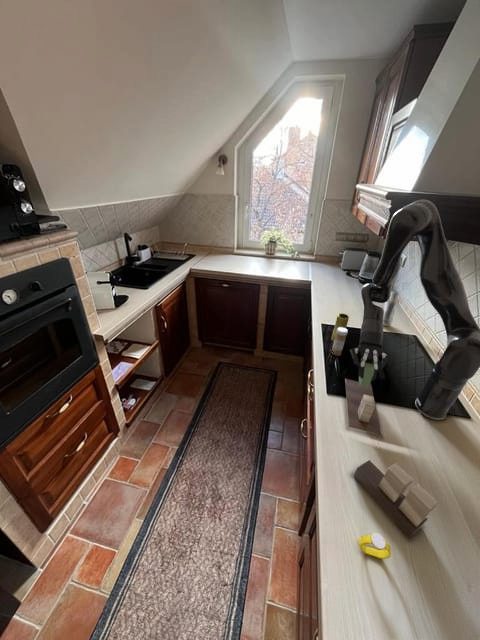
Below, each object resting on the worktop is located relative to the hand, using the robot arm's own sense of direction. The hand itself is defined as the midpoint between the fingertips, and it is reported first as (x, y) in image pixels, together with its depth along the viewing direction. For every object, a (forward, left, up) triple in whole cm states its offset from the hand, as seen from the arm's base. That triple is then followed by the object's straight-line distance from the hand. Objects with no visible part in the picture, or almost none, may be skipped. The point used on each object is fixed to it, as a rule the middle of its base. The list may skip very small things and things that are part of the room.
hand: (367, 378), depth 91 cm
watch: (+36, +32, -10) cm, 49 cm away
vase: (-22, -33, -10) cm, 41 cm away
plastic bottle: (-59, -32, -10) cm, 68 cm away
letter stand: (+23, +27, -10) cm, 37 cm away
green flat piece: (-1, -1, -4) cm, 5 cm away
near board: (+3, +2, -10) cm, 11 cm away
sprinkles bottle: (-13, -25, -10) cm, 30 cm away
